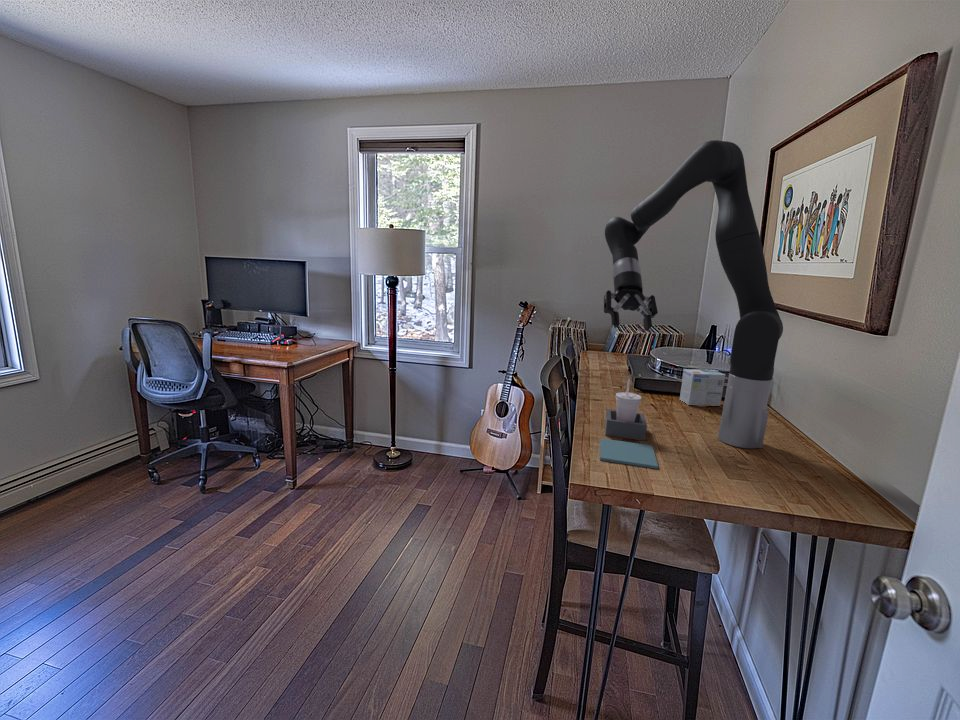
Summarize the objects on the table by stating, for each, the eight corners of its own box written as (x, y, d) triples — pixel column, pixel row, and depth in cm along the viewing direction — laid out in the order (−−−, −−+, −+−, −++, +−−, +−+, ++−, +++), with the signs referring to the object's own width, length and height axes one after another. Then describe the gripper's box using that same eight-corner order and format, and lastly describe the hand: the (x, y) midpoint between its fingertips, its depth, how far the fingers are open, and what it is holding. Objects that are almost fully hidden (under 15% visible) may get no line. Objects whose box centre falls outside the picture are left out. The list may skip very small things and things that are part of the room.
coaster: (651, 447, 111) (652, 445, 111) (657, 468, 99) (658, 466, 99) (600, 440, 114) (600, 438, 113) (600, 460, 102) (600, 457, 102)
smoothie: (606, 428, 122) (612, 376, 119) (625, 426, 125) (632, 375, 122) (622, 437, 117) (629, 383, 114) (642, 434, 119) (649, 381, 116)
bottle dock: (641, 427, 124) (643, 413, 123) (644, 440, 115) (647, 425, 114) (604, 423, 126) (606, 408, 125) (605, 435, 117) (607, 420, 116)
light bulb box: (709, 401, 154) (714, 369, 152) (720, 407, 147) (726, 374, 145) (678, 400, 153) (683, 368, 151) (688, 406, 146) (693, 373, 144)
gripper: (607, 267, 128) (611, 318, 121) (657, 272, 129) (664, 323, 122) (598, 282, 135) (601, 331, 128) (645, 287, 136) (651, 336, 129)
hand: (632, 327), depth 125 cm, fingers open, 8 cm apart
